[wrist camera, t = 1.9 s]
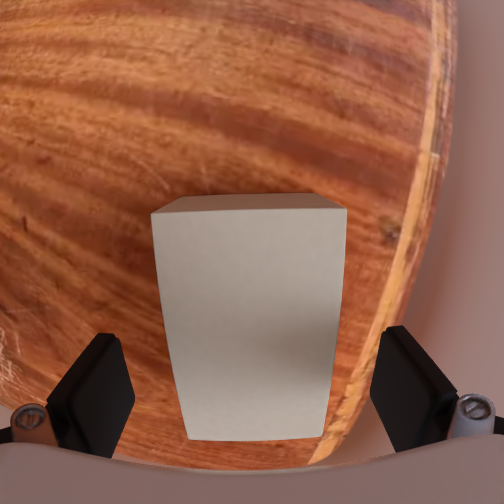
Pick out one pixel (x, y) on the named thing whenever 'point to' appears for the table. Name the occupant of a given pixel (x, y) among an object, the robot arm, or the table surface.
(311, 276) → the cream block
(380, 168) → the table surface
